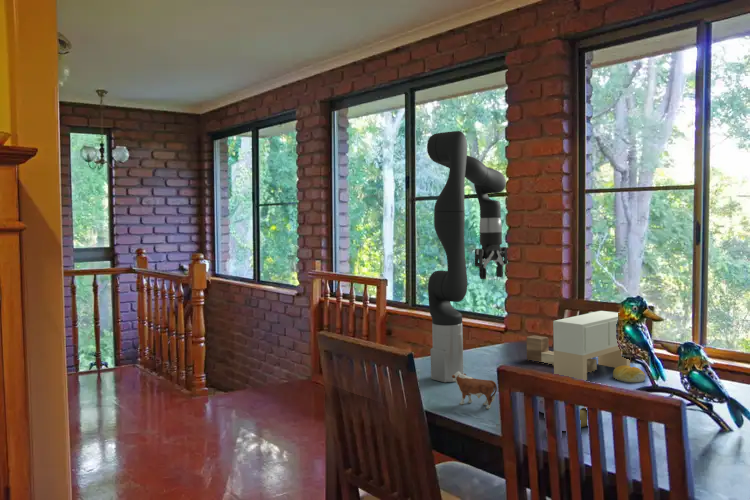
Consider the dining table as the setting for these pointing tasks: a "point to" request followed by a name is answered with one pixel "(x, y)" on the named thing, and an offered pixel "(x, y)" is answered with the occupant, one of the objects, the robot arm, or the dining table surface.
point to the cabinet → (586, 343)
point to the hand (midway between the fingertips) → (491, 277)
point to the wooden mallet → (548, 352)
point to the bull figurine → (475, 388)
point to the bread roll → (628, 374)
